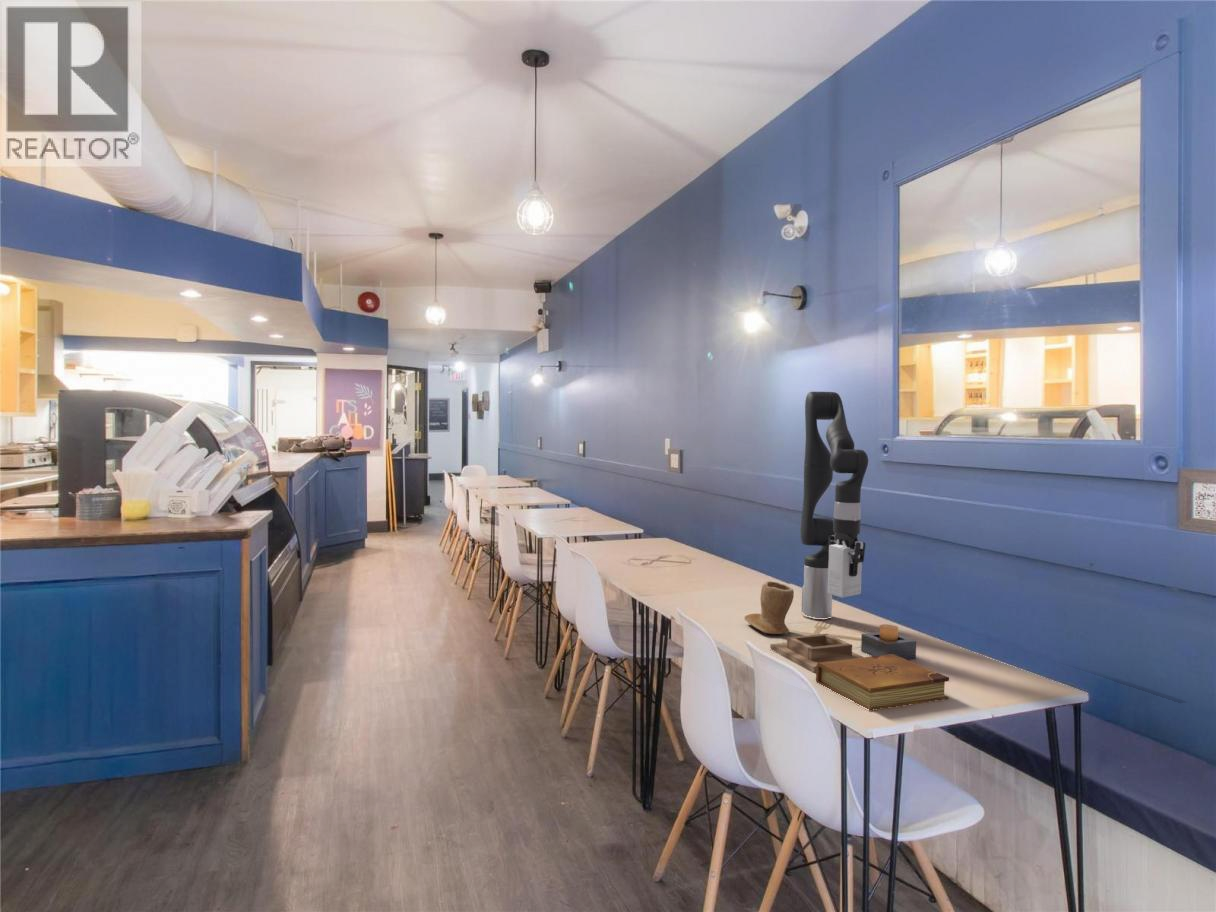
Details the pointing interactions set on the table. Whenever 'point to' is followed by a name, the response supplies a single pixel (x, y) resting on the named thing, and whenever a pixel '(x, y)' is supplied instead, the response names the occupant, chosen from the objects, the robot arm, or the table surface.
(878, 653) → the button housing
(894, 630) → the button
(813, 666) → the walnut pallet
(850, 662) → the diary
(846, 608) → the table surface
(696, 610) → the table surface
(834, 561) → the skincare box
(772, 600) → the brown hat
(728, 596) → the table surface
